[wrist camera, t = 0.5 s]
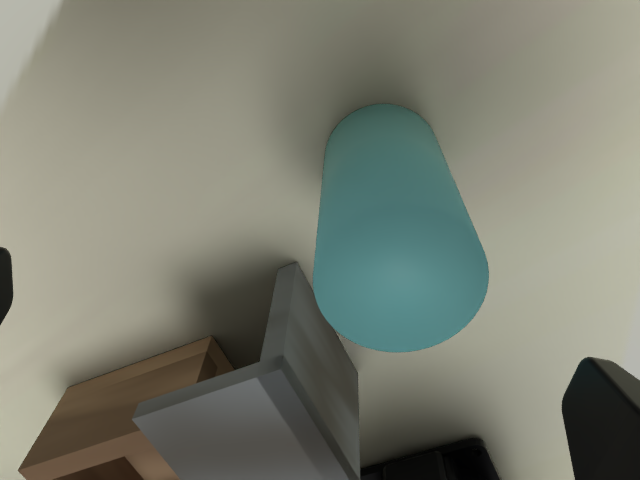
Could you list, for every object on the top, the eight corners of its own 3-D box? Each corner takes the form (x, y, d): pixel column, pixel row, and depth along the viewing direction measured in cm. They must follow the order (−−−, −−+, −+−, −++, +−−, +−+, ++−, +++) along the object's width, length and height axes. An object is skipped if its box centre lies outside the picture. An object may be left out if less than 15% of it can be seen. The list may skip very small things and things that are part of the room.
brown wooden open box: (385, 424, 26) (395, 554, 21) (156, 492, 29) (112, 623, 24) (296, 261, 23) (280, 369, 17) (42, 358, 25) (-41, 477, 20)
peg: (455, 187, 21) (510, 320, 14) (351, 227, 22) (353, 371, 15) (415, 84, 19) (455, 175, 12) (305, 132, 20) (283, 243, 13)
